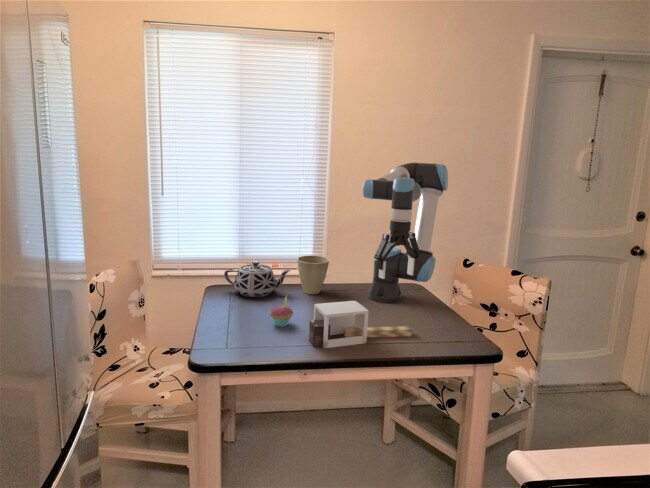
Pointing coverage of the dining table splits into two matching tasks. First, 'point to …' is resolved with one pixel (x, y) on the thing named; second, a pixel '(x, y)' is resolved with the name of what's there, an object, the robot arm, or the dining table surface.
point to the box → (317, 332)
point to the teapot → (255, 280)
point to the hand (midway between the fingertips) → (396, 276)
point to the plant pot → (312, 272)
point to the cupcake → (281, 314)
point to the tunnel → (341, 321)
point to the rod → (379, 331)
